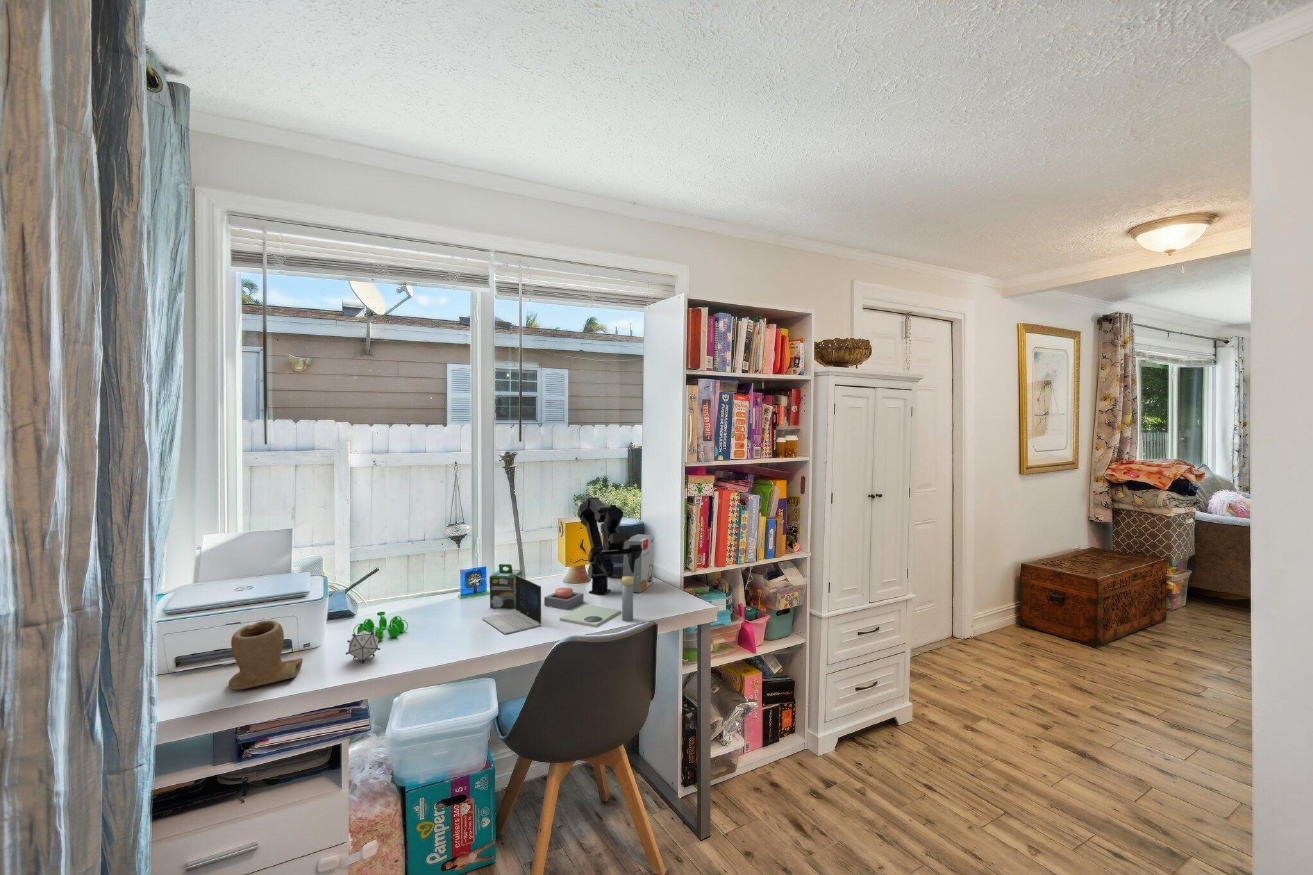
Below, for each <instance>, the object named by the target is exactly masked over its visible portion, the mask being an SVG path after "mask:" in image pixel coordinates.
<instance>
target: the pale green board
mask: <svg viewBox="0 0 1313 875" xmlns="http://www.w3.org/2000/svg"><path fill="white" fill-rule="evenodd" d="M619 614H622V609H616V608H611V607H605V606H600V605H599V606H598V605H592V604H584V605H582V606H581V607H578V608H576V609H575V610H573V611H569V613H567V614H565V615H563V616H561V617H559V621H561V622H567V623H572V624H579V625H583V626H589V627H593V628H598V627H599V626H600V625H602V624H604V623H605V622H608V621H609V620H611V619H612V618H614V617H616V616H617V615H619Z"/></svg>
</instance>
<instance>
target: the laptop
mask: <svg viewBox="0 0 1313 875" xmlns="http://www.w3.org/2000/svg"><path fill="white" fill-rule="evenodd" d="M481 619H482V620H484V621H485V622H486V623H488V624H489V625H491V626H493V627H494V628H495V629H497V630H498V631H499V632H502V633H503V634H504V635H506V634H507V633H508V634H512V633H516V632H517V633H518V632H521V631H526V630H531V629H535V628H539V627H541V626H542V586H541V585H539V584H536V583H534V582H533V581H531V580H528V579H526V578H523V576H522V577H520V576H518V575H516V607H515V610H510V611H506V612H503V613H497V614H494V615H488V616H483V617H482V618H481Z"/></svg>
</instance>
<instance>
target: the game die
mask: <svg viewBox="0 0 1313 875" xmlns="http://www.w3.org/2000/svg"><path fill="white" fill-rule="evenodd" d="M365 629H366V628H365V627H364V628H363V630H364V631H362V632H360V633H358V634H357V633H356V635H354V633H352V634H351V636H352V638H351V640H349V639H348V640H347V641H346V642H347V643H348V650H347V652H345V655H349V654H350V655H351V656H353V657H352V658H353V660H355V659H358V660H360V661H361V664H364V663H365V660H367V659H369V658H370V657H372V656H373V657H375V656H376V654H375V653H376V652H377V651H381V648H380V647H379V642H378V639H380V638H381V636H380V637H377V636H375V630H373V632H372V633H370V632H371V631H369V632H368V631H365ZM354 658H355V659H354Z"/></svg>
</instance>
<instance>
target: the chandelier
mask: <svg viewBox="0 0 1313 875" xmlns="http://www.w3.org/2000/svg"><path fill="white" fill-rule="evenodd" d="M385 615H386V612H385V611H378V612H377V613H376V616H378V617H379V616H380V617H379V622H378V625H379V626H375V623H374V621H373V620H372V619H371V618H366V619H365V620H364V621H363V622H361V623H358V624H357V625H355V627H354V628H353V630H352V631H353V633H352V634H354V635H357V634H358V633H360V632H362V631H364V630H363V628H364V627H365V628H366V629H365V631H368V632H371V633H372V632H373V631H374V635H375V636H377V637H380V636H381V638H380V639H378V643H380V641H382V640H384V631H387V633H388V635H389V637H390V638H394V639H397V638H398V637H399V635H400V633H406V631H407V630H408V627H409V624H408V622H407V621H406V619H402V616H399V615H395V616H393V617H392V618H391V619H390V621H389V624H388V621H387V617H385ZM404 622H405V624H406V628H405V624H404ZM356 628H357V629H356ZM355 630H356V632H357V633H355Z"/></svg>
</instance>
